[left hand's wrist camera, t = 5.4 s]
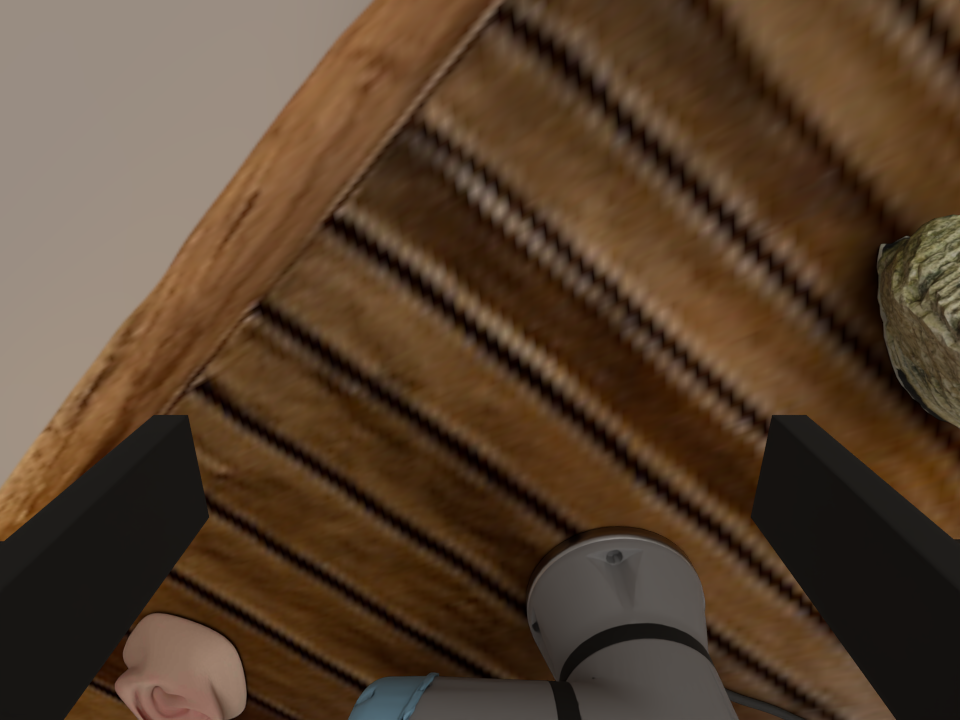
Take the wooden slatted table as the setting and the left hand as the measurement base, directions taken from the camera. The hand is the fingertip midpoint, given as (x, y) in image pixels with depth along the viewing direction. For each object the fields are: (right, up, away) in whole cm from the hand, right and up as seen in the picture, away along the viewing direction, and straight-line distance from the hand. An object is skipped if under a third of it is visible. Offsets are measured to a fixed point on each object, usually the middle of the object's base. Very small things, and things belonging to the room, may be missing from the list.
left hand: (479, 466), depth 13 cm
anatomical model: (-28, -27, +41) cm, 56 cm away
